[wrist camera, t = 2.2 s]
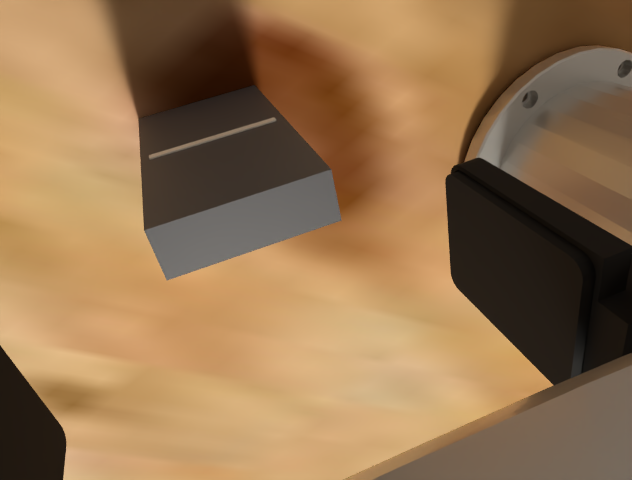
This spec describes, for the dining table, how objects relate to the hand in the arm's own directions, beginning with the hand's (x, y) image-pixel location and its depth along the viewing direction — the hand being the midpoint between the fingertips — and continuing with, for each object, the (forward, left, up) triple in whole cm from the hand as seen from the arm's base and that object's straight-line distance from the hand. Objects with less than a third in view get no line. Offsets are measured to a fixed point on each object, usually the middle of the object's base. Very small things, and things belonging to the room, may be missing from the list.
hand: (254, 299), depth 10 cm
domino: (-1, 0, -13) cm, 13 cm away
